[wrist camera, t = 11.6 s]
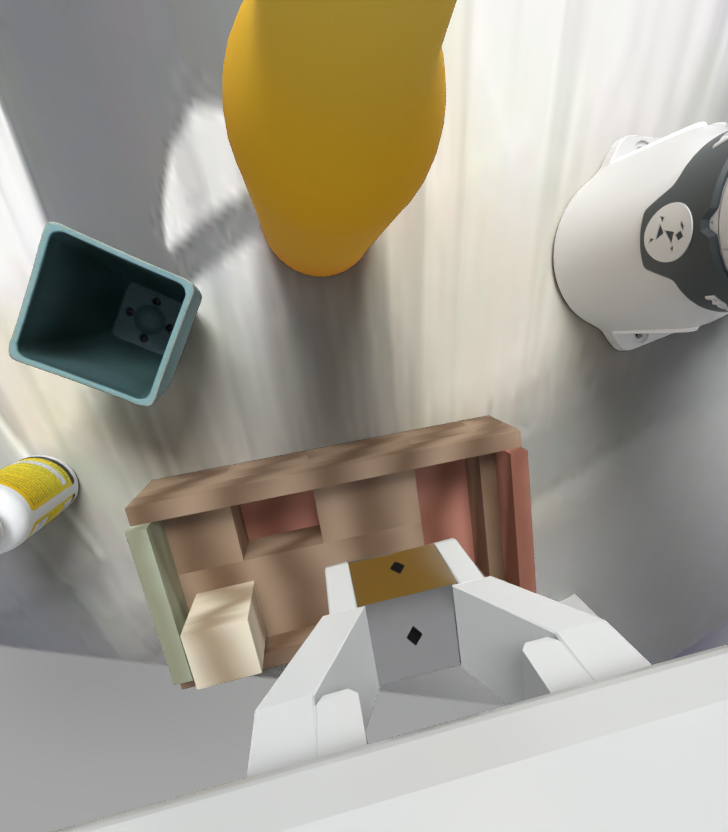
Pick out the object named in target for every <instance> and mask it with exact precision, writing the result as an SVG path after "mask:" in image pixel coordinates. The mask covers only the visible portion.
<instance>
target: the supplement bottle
mask: <svg viewBox="0 0 728 832" xmlns="http://www.w3.org/2000/svg"><path fill="white" fill-rule="evenodd" d="M77 493H78V480H77V477H76V475H75V473H74V471H73V470H72V469H71V468H70V467H69V466H68V465H67V464H66V463H65V462H63V461H62V460H60V459H57V458H55V457H51V456H47V455H36V456H30V457H27V458H24V459H22V460H19V461H17V462H15V463H13V464H11V465H9V466H7V467H5V468H3V469H1V470H0V554H1V553H5V552H8V551H10V550H12V549H14V548H16V547H17V546H18V545H20V544H21V543H23V542H24V541H25V540H27V539H28V538H29V537H30V536H32V535H33V534H34V533H36V532H37V531H38V530H39V529H41V528H42V527H43V526H45V525H46V524H47V523H48V522H50V521H51V520H52V519H54V518H55V517H56V516H57V515H59V514H60V513H61V512H63V511H64V510H65V509H66V508H68V507H69V506H70V505H71V504H72V503H73V501H74V500H75V498H76V496H77Z"/></svg>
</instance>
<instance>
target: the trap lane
mask: <svg viewBox="0 0 728 832" xmlns="http://www.w3.org/2000/svg"><path fill="white" fill-rule="evenodd" d="M125 511H126V514H127V517H128V520H129V524H130V528H129V529H128V530H127V531H126V532H125V534H126V537H127V540H128V544H129V547H130V550H131V553H132V556H133V559H134V562H135V565H136V568H137V572H138V575H139V578H140V581H141V584H142V587H143V590H144V593H145V596H146V600H147V603H148V606H149V609H150V612H151V615H152V618H153V621H154V624H155V627H156V631H157V634H158V637H159V640H160V643H161V646H162V649H163V652H164V655H165V659H166V662H167V665H168V668H169V671H170V674H171V677H172V680H173V683H174V685H177V684H181V687H182V689H186V688H190V687H194V686H196V684H195V681H194V678H193V675H192V672H191V668H190V665H189V662H188V659H187V656H186V653H185V650H184V647H183V644H182V641H181V637H180V635H181V633H182V630H183V627H184V625H185V622H186V620H187V617H188V614H189V612H190V609H191V607H192V604H193V602H194V599H195V596H196V594H199V593H203V592H207V591H211V590H216V589H220V588H224V587H228V586H233V585H237V584H241V583H245V582H250V581H254V580H255V584H256V588H257V592H258V596H259V600H260V604H261V607H262V611H263V615H264V619H265V623H266V627H267V631H266V641H265V650H264V659H263V668H262V670H263V669H267V668H271V667H275V666H279V665H283V664H287V663H290V661H291V660H292V658H293V657H294V656H295V654H296V653H297V651H298V650H299V649H300V647H301V646H302V644H303V643H304V642H305V640H306V639H307V637H308V636H309V635H310V633H311V632H312V630H313V629H314V628H315V626H316V625H317V623H318V622H319V621H320V619H321V618H322V617H323V616H325V615H329V606H328V596H327V586H326V576H325V567H327V566H331V565H335V564H339V563H344V562H347V563H348V562H349V561H354V560H359V559H364V558H369V557H374V556H379V555H384V554H389V553H391V554H392V553H396V552H400V551H404V550H408V549H412V548H416V547H420V546H424V545H428V544H432V543H435V542H439V541H442V540H446V539H450V538H454V539H456V540H457V541H458V543H459V544H460V545H461V547H462V548H463V549H464V551H465V552H466V553H467V555H468V556H469V557H470V559H471V560H472V561H473V563H474V564H475V565H476V567H477V568H478V569H479V571H480V572H481V573H482V575H483V576H484V577H489V576H492V577H495V578H497V579H500V580H502V581H505V582H508V583H510V584H513V585H515V586H518V587H521V588H523V589H526V590H528V591H531V592H533V593H536V581H535V565H534V549H533V533H532V516H531V500H530V484H529V467H528V451H527V450H525V449H524V448H522V447H521V437H520V430H518V429H516V428H514V427H512V426H510V425H508V424H505V423H503V422H501V421H499V420H497V419H495V418H493V417H491V416H489V415H488V416H483V417H478V418H473V419H468V420H462V421H457V422H452V423H447V424H442V425H436V426H431V427H426V428H421V429H416V430H410V431H405V432H400V433H395V434H389V435H384V436H379V437H374V438H369V439H363V440H358V441H353V442H348V443H343V444H337V445H332V446H327V447H322V448H317V449H311V450H306V451H301V452H296V453H291V454H285V455H280V456H275V457H270V458H265V459H259V460H254V461H249V462H244V463H239V464H233V465H228V466H223V467H218V468H212V469H207V470H202V471H197V472H192V473H186V474H181V475H176V476H171V477H166V478H160V479H155V480H152V481H151V482H150V483H149V484H148V485H147V486H146V487H145V488H144V489H143V490H142V491H141V492H140V494H139V495H138V496H137V497H136V498H135V499H134V500H133V501H132V502H131V503H130V504H129V505H128V506H127V507H126V508H125ZM348 566H349V564H348ZM349 571H350V570H349Z"/></svg>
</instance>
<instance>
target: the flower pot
mask: <svg viewBox="0 0 728 832" xmlns="http://www.w3.org/2000/svg"><path fill="white" fill-rule="evenodd" d="M155 298H158V299H159V300H160V304H159V305H155V304H154V299H155ZM201 299H202V295H201V293H200V291H199V290H198V289H197V288H196V287H195V286H194V285H193V284H192V283H191V282H190V281H189V280H187V279H185V278H183V277H180V276H178V275H175V274H173V273H171V272H168V271H166V270H164V269H161V268H159V267H156V266H154V265H152V264H149V263H147V262H145V261H142V260H140V259H138V258H135V257H133V256H131V255H129V254H126V253H124V252H122V251H120V250H117V249H115V248H113V247H111V246H109V245H106V244H104V243H102V242H100V241H97V240H95V239H93V238H91V237H88V236H86V235H84V234H82V233H79V232H77V231H75V230H73V229H71V228H69V227H67V226H64V225H62V224H60V223H57V222H48V223H47V224H46V225H45V228H44V230H43V233H42V236H41V240H40V243H39V247H38V251H37V254H36V258H35V263H34V265H33V270H32V273H31V276H30V280H29V284H28V286H27V290H26V293H25V297H24V300H23V303H22V306H21V310H20V313H19V317H18V320H17V323H16V326H15V329H14V332H13V335H12V338H11V340H10V344H9V355H10V357H11V358H12V359H14V360H16V361H19V362H21V363H24V364H26V365H30V366H33V367H36V368H38V369H41V370H44V371H47V372H50V373H53V374H56V375H59V376H61V377H64V378H67V379H70V380H72V381H76V382H78V383H81V384H84V385H87V386H90V387H92V388H95V389H98V390H100V391H103V392H106V393H108V394H111V395H114V396H117V397H119V398H122V399H125V400H127V401H129V402H132V403H134V404H137V405H140V406H145V407H149V406H151V405H152V404H153V403H154V402H155V401H156V400H157V399H158V398H159V397H160V395H161V394H162V393H163V392H164V391H165V390H166V389H167V388H168V386H169V385H170V383H171V381H172V379H173V376H174V373H175V370H176V368H177V365H178V362H179V359H180V357H181V354H182V351H183V348H184V346H185V343H186V340H187V337H188V335H189V332H190V329H191V327H192V324H193V321H194V318H195V316H196V313H197V311H198V308H199V305H200V303H201ZM129 308H131V309H133V311H134V314H133V315H129V314H128V313H127V310H128V309H129ZM168 325H172V326H173V330H172V331H168V330H167V326H168ZM142 335H146V336H147V340H146V341H142V340H141V336H142Z"/></svg>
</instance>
